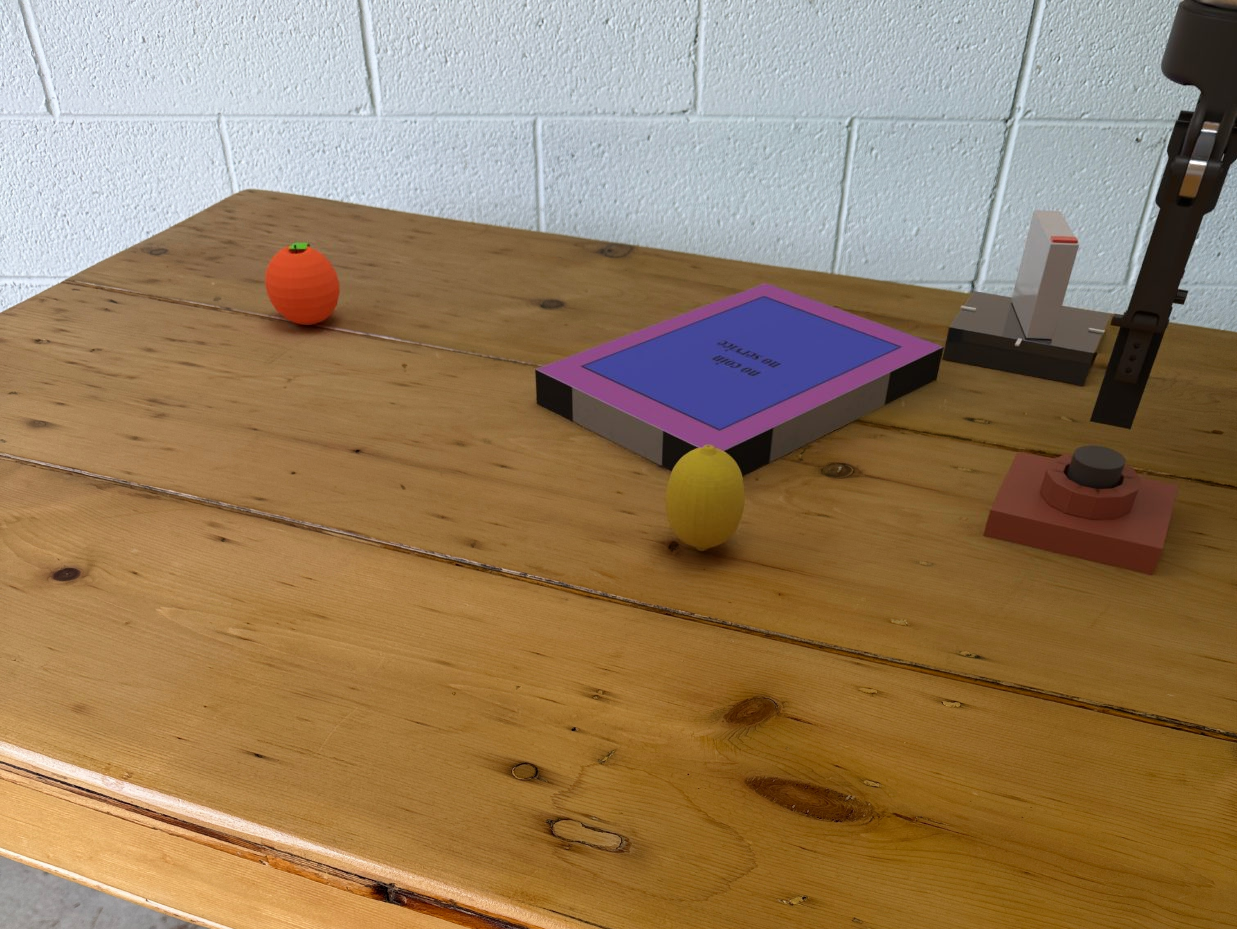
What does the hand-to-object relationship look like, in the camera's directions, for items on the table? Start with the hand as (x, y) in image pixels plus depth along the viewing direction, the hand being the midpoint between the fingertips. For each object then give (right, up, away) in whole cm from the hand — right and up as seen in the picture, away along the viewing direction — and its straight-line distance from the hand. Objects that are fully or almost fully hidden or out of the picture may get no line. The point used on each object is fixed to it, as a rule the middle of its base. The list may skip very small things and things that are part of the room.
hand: (1115, 410), depth 77 cm
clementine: (-65, +21, +33) cm, 76 cm away
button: (0, -4, +4) cm, 5 cm away
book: (-24, +10, +22) cm, 34 cm away
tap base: (+4, +16, +28) cm, 33 cm away
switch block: (0, -6, +6) cm, 9 cm away
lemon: (-29, -9, +3) cm, 30 cm away
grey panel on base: (+4, +18, +26) cm, 32 cm away
